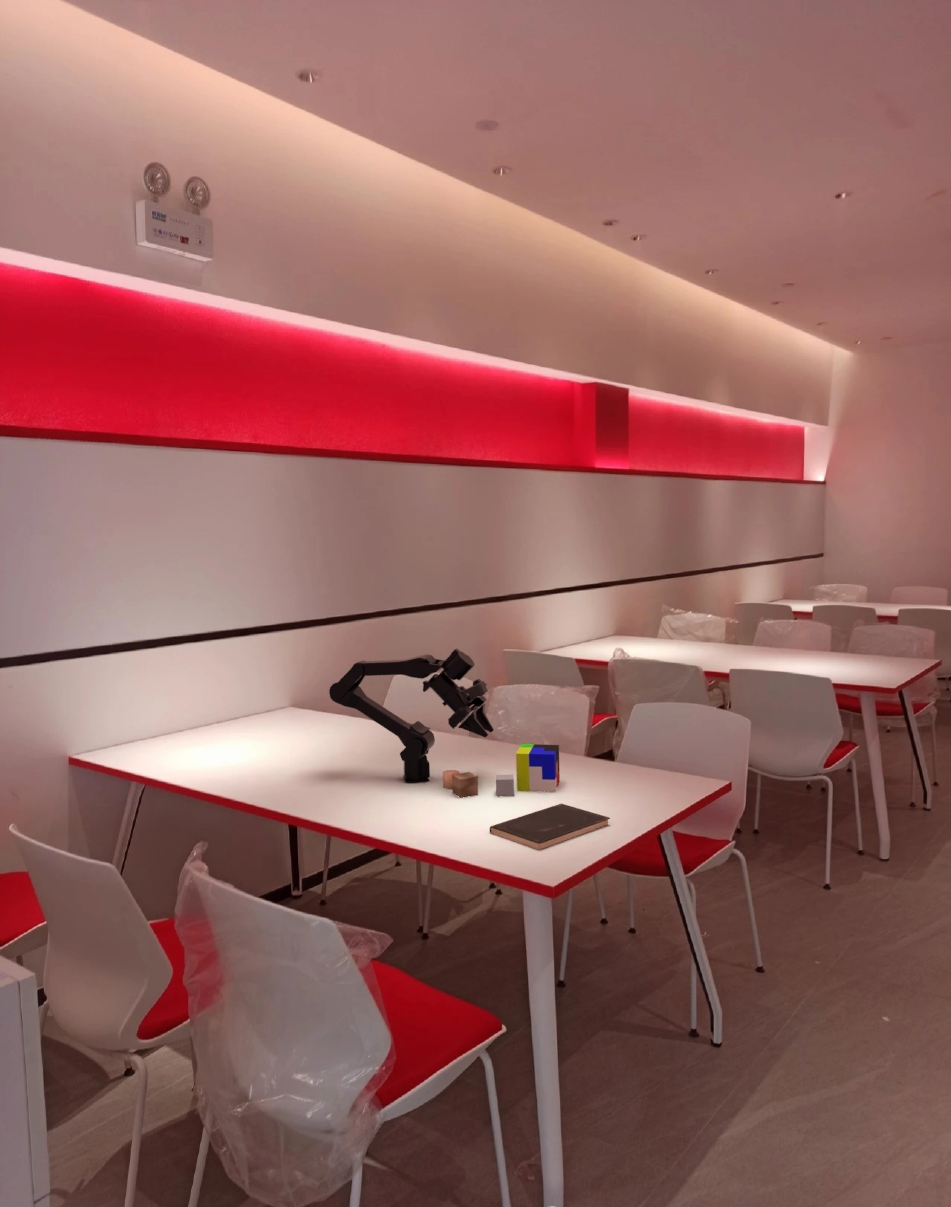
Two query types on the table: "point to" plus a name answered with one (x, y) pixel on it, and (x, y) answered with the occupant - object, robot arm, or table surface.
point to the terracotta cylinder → (448, 778)
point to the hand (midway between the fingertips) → (489, 733)
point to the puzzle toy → (537, 767)
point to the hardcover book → (549, 826)
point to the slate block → (504, 785)
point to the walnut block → (465, 784)
